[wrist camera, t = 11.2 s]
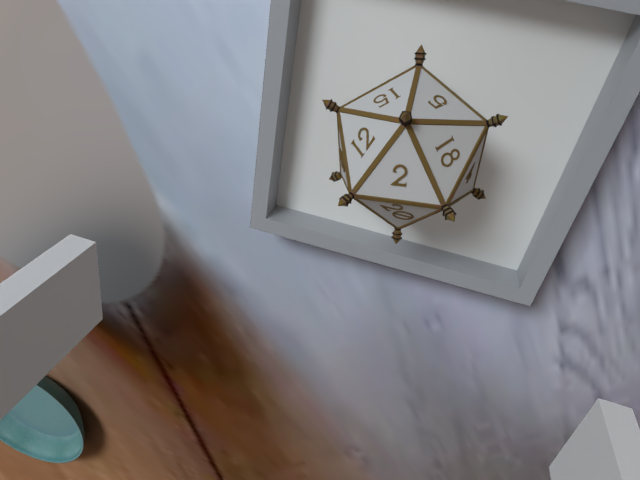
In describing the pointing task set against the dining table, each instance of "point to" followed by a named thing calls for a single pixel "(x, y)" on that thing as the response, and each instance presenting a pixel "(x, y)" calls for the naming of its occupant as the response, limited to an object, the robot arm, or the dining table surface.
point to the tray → (475, 89)
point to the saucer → (45, 424)
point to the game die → (410, 148)
